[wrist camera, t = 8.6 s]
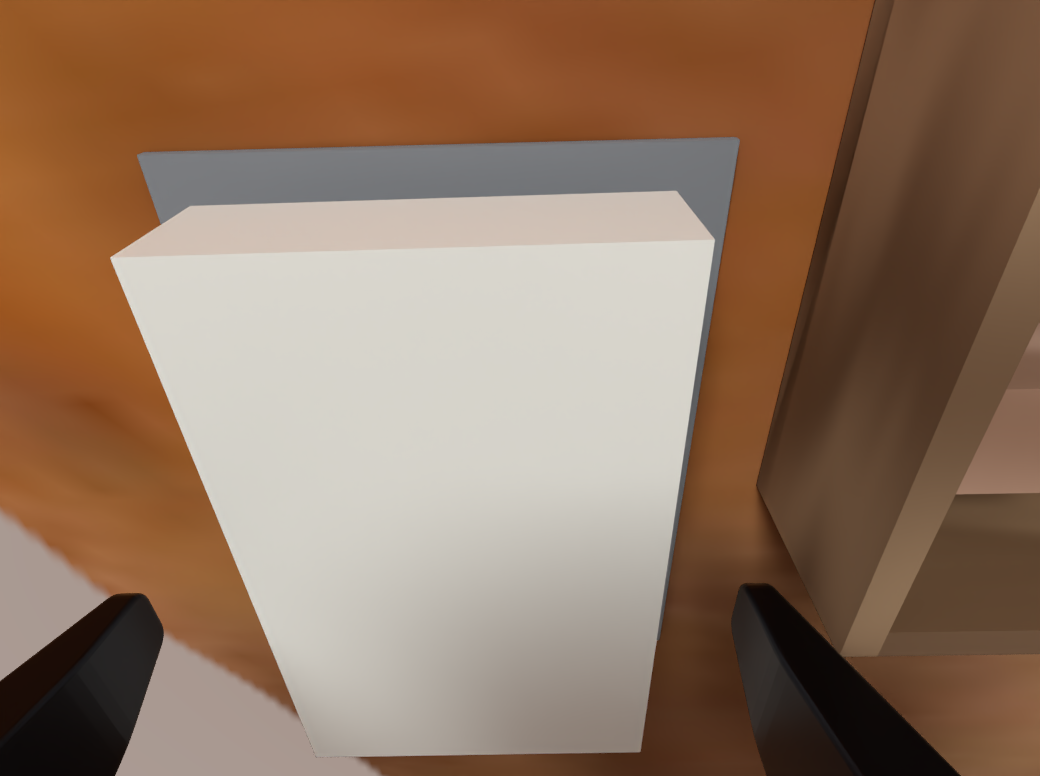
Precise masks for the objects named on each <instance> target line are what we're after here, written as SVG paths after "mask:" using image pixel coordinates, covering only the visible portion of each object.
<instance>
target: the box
mask: <svg viewBox="0 0 1040 776" xmlns="http://www.w3.org/2000/svg"><path fill="white" fill-rule="evenodd" d="M757 487H758V489H759V492H760V494H761V496H762V498H763V500H764V502H765V504H766V506H767V508H768V510H769V512H770V514H771V517H772V519H773V521H774V523H775V525H776V527H777V529H778V531H779V533H780V535H781V537H782V539H783V542H784V544H785V546H786V548H787V550H788V552H789V554H790V556H791V558H792V560H793V562H794V564H795V567H796V569H797V571H798V573H799V575H800V577H801V579H802V581H803V583H804V585H805V587H806V589H807V592H808V594H809V596H810V598H811V600H812V602H813V604H814V606H815V608H816V610H817V612H818V615H819V617H820V619H821V621H822V623H823V625H824V627H825V629H826V631H827V633H828V635H829V637H830V640H831V642H832V644H833V646H834V648H835V649H836V651H837V652H838V653H839V654H840V655H841V656H842V657H868V656H938V655H1008V654H1040V0H876V1H875V5H874V9H873V13H872V17H871V21H870V25H869V29H868V33H867V37H866V41H865V45H864V50H863V54H862V58H861V62H860V66H859V70H858V74H857V78H856V82H855V86H854V90H853V94H852V98H851V102H850V107H849V111H848V115H847V119H846V123H845V127H844V131H843V135H842V139H841V143H840V147H839V151H838V155H837V160H836V164H835V168H834V172H833V176H832V180H831V184H830V188H829V192H828V196H827V200H826V204H825V208H824V212H823V217H822V221H821V225H820V229H819V233H818V237H817V241H816V245H815V249H814V253H813V257H812V261H811V265H810V269H809V274H808V278H807V282H806V286H805V290H804V294H803V298H802V302H801V306H800V310H799V314H798V318H797V322H796V327H795V331H794V335H793V339H792V343H791V347H790V351H789V355H788V359H787V363H786V367H785V371H784V375H783V379H782V384H781V388H780V392H779V396H778V400H777V404H776V408H775V412H774V416H773V420H772V424H771V428H770V432H769V436H768V441H767V445H766V449H765V453H764V457H763V461H762V465H761V469H760V473H759V477H758V481H757Z"/></svg>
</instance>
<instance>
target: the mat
mask: <svg viewBox="0 0 1040 776" xmlns="http://www.w3.org/2000/svg"><path fill="white" fill-rule="evenodd" d="M739 142H740V140H739V139H738V138H736V137H721V138H682V139H643V140H604V141H564V142H525V143H486V144H447V145H407V146H368V147H329V148H290V149H250V150H211V151H172V152H143V153H141V154H138V155H137V157H138V160H139V162H140V165H141V168H142V171H143V174H144V177H145V180H146V183H147V186H148V188H149V191H150V194H151V197H152V200H153V203H154V206H155V209H156V211H157V214H158V217H159V220H160V223H161V224H163V223H165V222H166V221H168V220H169V219H171V218H172V217H174V216H175V215H177V214H178V213H180V212H182V211H183V210H185V209H186V208H188V207H189V206H204V205H236V204H268V203H300V202H332V201H364V200H396V199H428V198H460V197H492V196H524V195H556V194H588V193H620V192H652V191H677V192H678V193H679V195H680V196H681V197H682V198H683V200H684V201H685V202H686V203H687V205H688V206H689V207H690V209H691V210H692V211H693V212H694V214H695V215H696V216H697V217H698V219H699V220H700V221H701V223H702V224H703V225H704V226H705V228H706V229H707V230H708V231H709V233H710V234H711V235H712V236H713V238H714V239H715V243H714V250H713V257H712V264H711V271H710V278H709V284H708V291H707V298H706V305H705V312H704V319H703V326H702V332H701V339H700V346H699V353H698V360H697V367H696V374H695V380H694V387H693V394H692V401H691V408H690V415H689V422H688V428H687V435H686V442H685V449H684V456H683V463H682V470H681V477H680V483H679V490H678V497H677V504H676V511H675V518H674V525H673V531H672V538H671V545H670V552H669V559H668V566H667V573H666V579H665V586H664V593H663V600H662V607H661V614H660V621H659V627H658V634H657V640H659V639H660V633H661V627H662V621H663V615H664V608H665V602H666V596H667V590H668V583H669V577H670V571H671V565H672V559H673V552H674V546H675V540H676V534H677V527H678V521H679V515H680V509H681V503H682V496H683V490H684V484H685V478H686V471H687V465H688V459H689V453H690V447H691V440H692V434H693V428H694V422H695V415H696V409H697V403H698V397H699V391H700V384H701V378H702V372H703V366H704V359H705V353H706V347H707V341H708V335H709V328H710V322H711V316H712V310H713V303H714V297H715V291H716V285H717V279H718V272H719V266H720V260H721V254H722V248H723V241H724V235H725V229H726V223H727V216H728V210H729V204H730V198H731V192H732V185H733V179H734V173H735V167H736V160H737V154H738V148H739Z"/></svg>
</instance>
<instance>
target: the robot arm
mask: <svg viewBox="0 0 1040 776" xmlns="http://www.w3.org/2000/svg"><path fill="white" fill-rule="evenodd" d="M731 625H732V634H733V639H734V644H735V649H736V653H737V658H738V663H739V668H740V672H741V677H742V682H743V686H744V691H745V696H746V701H747V705H748V710H749V715H750V720H751V724H752V728H753V733H754V737H755V740H756V744H757V747H758V750H759V754H760V757H761V760H762V763H763V766H764V769H765V772H766V775H767V776H961V775H960V774H959V773H958V772H957V771H956V770H955V769H954V768H953V767H952V766H951V765H950V764H949V763H948V762H947V761H946V760H945V759H944V758H943V757H942V756H941V755H940V754H939V753H938V752H937V751H936V750H935V749H934V748H933V747H932V746H931V745H930V744H929V743H928V742H927V741H926V740H925V739H924V738H923V737H922V736H921V735H920V734H919V733H918V732H917V731H916V730H915V729H914V728H913V727H912V726H911V725H910V724H909V723H908V722H907V721H906V720H905V719H904V718H903V717H902V716H901V715H900V714H899V713H898V712H897V711H896V710H895V709H894V708H893V707H892V706H891V705H890V704H889V703H888V702H887V701H886V700H885V699H884V698H883V697H882V696H881V695H880V694H879V693H878V692H877V691H876V690H875V689H874V688H873V687H872V686H871V685H870V684H869V683H868V682H867V681H866V680H865V679H864V678H863V677H862V676H861V675H860V674H859V673H858V672H857V671H856V670H855V669H854V668H853V667H852V666H851V665H850V664H849V663H848V662H847V661H846V660H845V659H844V658H843V657H842V656H841V655H840V654H839V653H838V652H837V651H836V649H835V648H834V647H833V646H832V645H831V644H830V643H829V642H828V641H827V640H826V639H825V638H824V637H823V636H822V635H821V634H820V633H819V632H818V631H817V630H816V629H815V628H814V627H813V626H812V625H811V624H810V623H809V622H808V621H807V620H806V619H805V618H804V617H803V616H802V615H801V614H800V613H799V612H798V611H797V610H796V609H795V608H794V607H793V606H792V605H791V604H790V603H789V602H788V601H787V600H786V599H785V598H784V597H783V596H782V595H781V594H780V593H779V592H778V591H777V590H776V589H775V588H774V587H773V586H771V585H769V584H766V583H746V584H743V585H741V587H740V588H739V591H738V595H737V599H736V603H735V607H734V611H733V615H732V621H731ZM163 636H164V631H163V626H162V623H161V622H160V620H159V618H158V616H157V614H156V612H155V611H154V609H153V607H152V605H151V603H150V601H149V599H148V598H147V597H146V596H145V595H143V594H141V593H122V594H116V595H113V596H111V597H110V598H108V599H107V600H105V601H104V602H103V603H101V604H100V605H99V606H98V607H96V608H95V609H94V610H92V611H91V612H90V613H88V614H87V615H86V616H84V617H83V618H82V619H81V620H79V621H78V622H77V623H75V624H74V625H73V626H72V627H70V628H69V629H67V630H66V631H65V632H64V633H62V634H61V635H60V636H59V637H57V638H56V639H54V640H53V641H52V642H51V643H49V644H48V645H47V646H45V647H44V648H43V649H41V650H40V651H39V652H37V653H36V654H35V655H34V656H32V657H31V658H30V659H28V660H27V661H26V662H24V663H23V664H22V665H21V666H19V667H18V668H17V669H15V670H14V671H13V672H12V673H10V674H9V675H7V676H6V677H5V678H4V679H2V680H1V681H0V776H115V774H116V772H117V770H118V768H119V765H120V763H121V761H122V758H123V756H124V754H125V751H126V749H127V746H128V744H129V741H130V738H131V736H132V733H133V730H134V727H135V724H136V721H137V718H138V715H139V712H140V708H141V706H142V703H143V700H144V697H145V694H146V691H147V688H148V685H149V682H150V679H151V676H152V673H153V670H154V667H155V664H156V660H157V658H158V654H159V651H160V648H161V645H162V642H163Z"/></svg>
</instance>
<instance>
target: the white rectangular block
mask: <svg viewBox="0 0 1040 776" xmlns="http://www.w3.org/2000/svg"><path fill="white" fill-rule="evenodd" d="M714 243H715V239H714V238H713V236H712V235H711V234H710V233H709V231H708V230H707V229H706V228H705V226H704V225H703V224H702V223H701V221H700V220H699V219H698V217H697V216H696V215H695V214H694V212H693V211H692V210H691V209H690V207H689V206H688V205H687V203H686V202H685V201H684V200H683V198H682V197H681V196H680V195H679V193H678V192H677V191H652V192H620V193H588V194H556V195H524V196H492V197H460V198H428V199H396V200H364V201H332V202H300V203H268V204H236V205H204V206H189V207H188V208H186V209H185V210H183V211H182V212H180V213H178V214H177V215H175V216H174V217H172V218H171V219H169V220H168V221H166V222H165V223H163V224H161V225H160V226H158V227H157V228H155V229H154V230H152V231H151V232H149V233H148V234H146V235H144V236H143V237H141V238H140V239H138V240H137V241H135V242H134V243H132V244H131V245H129V246H127V247H126V248H124V249H123V250H121V251H120V252H118V253H117V254H115V255H114V256H112V257H110V259H111V261H112V264H113V266H114V268H115V271H116V273H117V276H118V278H119V281H120V283H121V285H122V288H123V290H124V293H125V295H126V298H127V300H128V302H129V305H130V307H131V310H132V312H133V315H134V317H135V319H136V322H137V324H138V327H139V329H140V332H141V334H142V336H143V339H144V341H145V344H146V346H147V349H148V351H149V353H150V356H151V358H152V361H153V363H154V366H155V368H156V370H157V373H158V375H159V378H160V380H161V382H162V385H163V387H164V390H165V392H166V395H167V397H168V399H169V402H170V404H171V407H172V409H173V412H174V414H175V416H176V419H177V421H178V424H179V426H180V429H181V431H182V433H183V436H184V438H185V441H186V443H187V446H188V448H189V450H190V453H191V455H192V458H193V460H194V463H195V465H196V467H197V470H198V472H199V475H200V477H201V480H202V482H203V484H204V487H205V489H206V492H207V494H208V497H209V499H210V501H211V504H212V506H213V509H214V511H215V514H216V516H217V518H218V521H219V523H220V526H221V528H222V531H223V533H224V535H225V538H226V540H227V543H228V545H229V548H230V550H231V552H232V555H233V557H234V560H235V562H236V564H237V567H238V569H239V572H240V574H241V577H242V579H243V581H244V584H245V586H246V589H247V591H248V594H249V596H250V598H251V601H252V603H253V606H254V608H255V611H256V613H257V615H258V618H259V620H260V623H261V625H262V628H263V630H264V632H265V635H266V637H267V640H268V642H269V645H270V647H271V649H272V652H273V654H274V657H275V659H276V662H277V664H278V666H279V669H280V671H281V674H282V676H283V679H284V681H285V683H286V686H287V688H288V691H289V693H290V696H291V698H292V700H293V703H294V705H295V708H296V710H297V713H298V715H299V717H300V720H301V722H302V725H303V727H304V729H305V732H306V734H307V737H308V739H309V742H310V744H311V746H312V749H313V751H314V753H315V756H316V757H371V756H435V755H498V754H562V753H625V752H640V751H641V744H642V737H643V730H644V724H645V717H646V710H647V703H648V696H649V689H650V682H651V676H652V669H653V662H654V655H655V648H656V641H657V634H658V627H659V621H660V614H661V607H662V600H663V593H664V586H665V579H666V573H667V566H668V559H669V552H670V545H671V538H672V531H673V525H674V518H675V511H676V504H677V497H678V490H679V483H680V477H681V470H682V463H683V456H684V449H685V442H686V435H687V428H688V422H689V415H690V408H691V401H692V394H693V387H694V380H695V374H696V367H697V360H698V353H699V346H700V339H701V332H702V326H703V319H704V312H705V305H706V298H707V291H708V284H709V278H710V271H711V264H712V257H713V250H714Z"/></svg>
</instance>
